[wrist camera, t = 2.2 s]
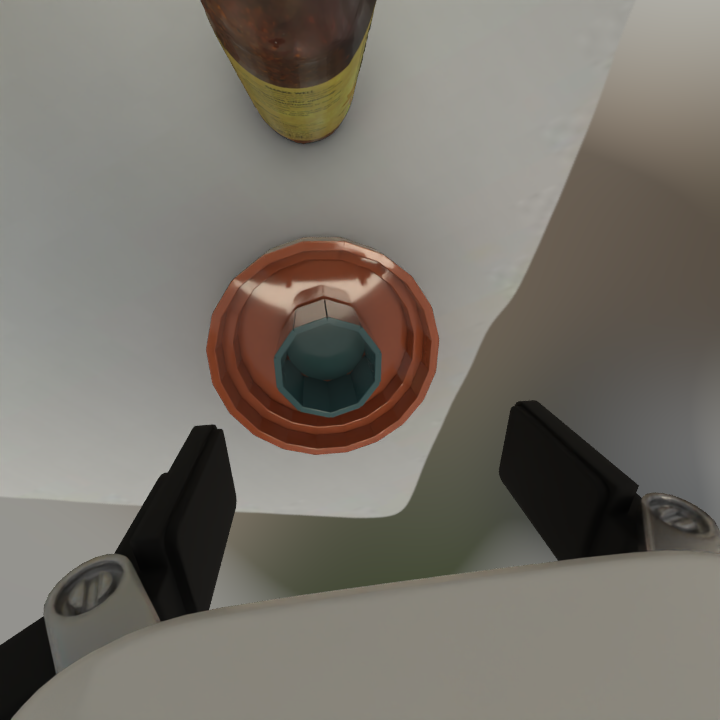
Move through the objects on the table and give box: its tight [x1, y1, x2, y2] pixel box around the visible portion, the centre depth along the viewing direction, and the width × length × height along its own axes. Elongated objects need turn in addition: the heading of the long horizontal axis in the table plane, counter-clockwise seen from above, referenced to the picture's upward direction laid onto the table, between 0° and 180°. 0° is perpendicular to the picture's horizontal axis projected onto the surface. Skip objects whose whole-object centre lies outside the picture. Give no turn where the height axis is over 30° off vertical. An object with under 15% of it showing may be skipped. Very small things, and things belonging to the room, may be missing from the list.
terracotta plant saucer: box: [206, 237, 439, 455], centre depth 26 cm, size 16×16×4 cm
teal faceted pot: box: [274, 299, 382, 418], centre depth 25 cm, size 7×7×6 cm
